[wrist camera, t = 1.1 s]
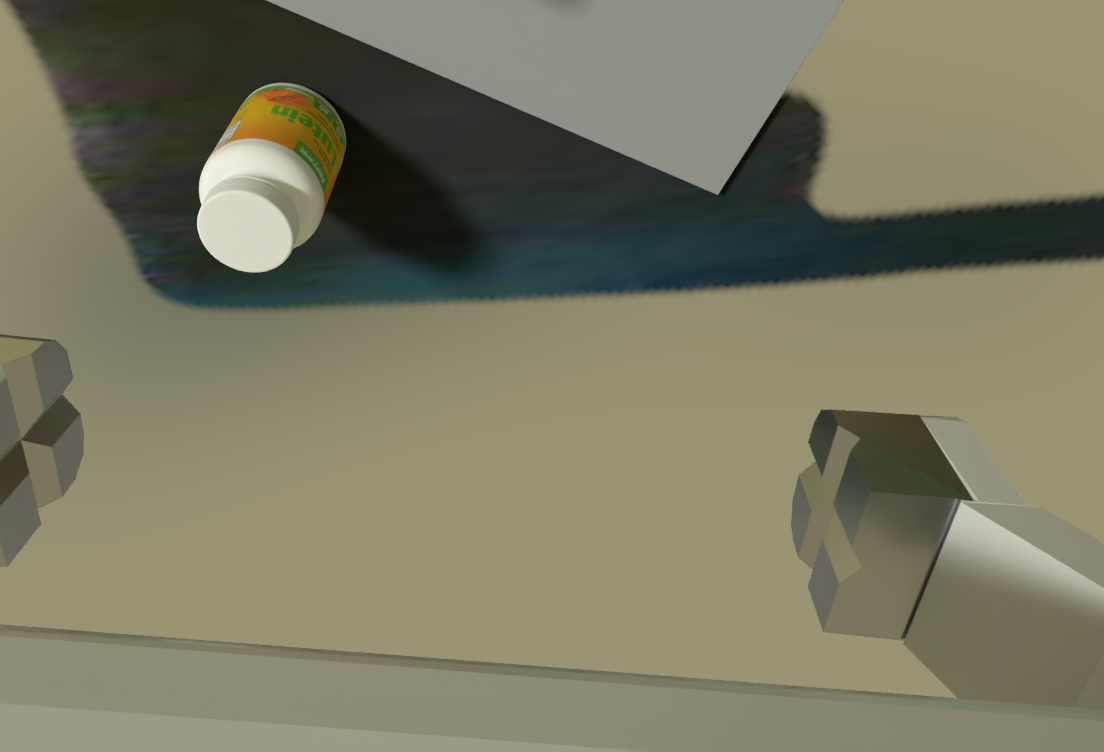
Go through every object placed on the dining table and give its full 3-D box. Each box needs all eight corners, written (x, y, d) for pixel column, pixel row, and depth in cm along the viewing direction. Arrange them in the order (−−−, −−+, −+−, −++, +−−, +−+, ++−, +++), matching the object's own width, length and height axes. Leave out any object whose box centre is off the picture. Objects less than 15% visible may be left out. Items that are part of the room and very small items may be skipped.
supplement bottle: (369, 127, 45) (335, 228, 38) (311, 199, 48) (269, 307, 41) (273, 56, 43) (218, 149, 36) (218, 136, 46) (155, 239, 38)
